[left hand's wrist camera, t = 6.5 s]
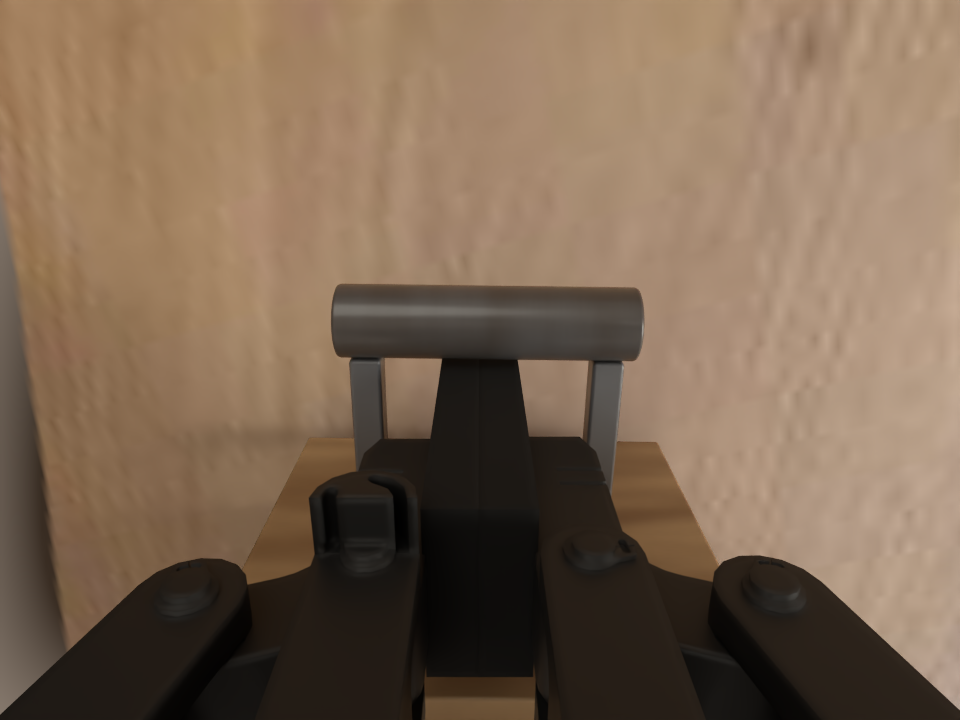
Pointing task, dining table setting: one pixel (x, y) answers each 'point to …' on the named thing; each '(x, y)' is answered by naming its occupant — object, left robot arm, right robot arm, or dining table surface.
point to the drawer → (490, 335)
